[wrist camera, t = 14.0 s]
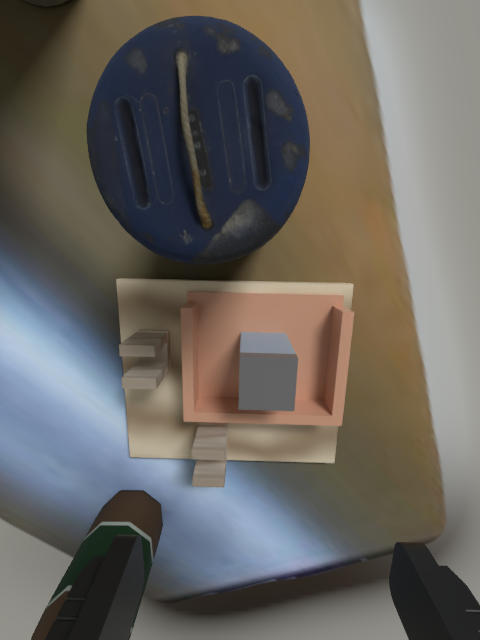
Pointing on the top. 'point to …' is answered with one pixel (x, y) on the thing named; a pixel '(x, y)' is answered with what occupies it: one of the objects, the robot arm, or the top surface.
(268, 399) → the grey block
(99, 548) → the beer bottle
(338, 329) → the tray
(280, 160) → the canister
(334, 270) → the top surface
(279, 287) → the board
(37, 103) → the top surface
